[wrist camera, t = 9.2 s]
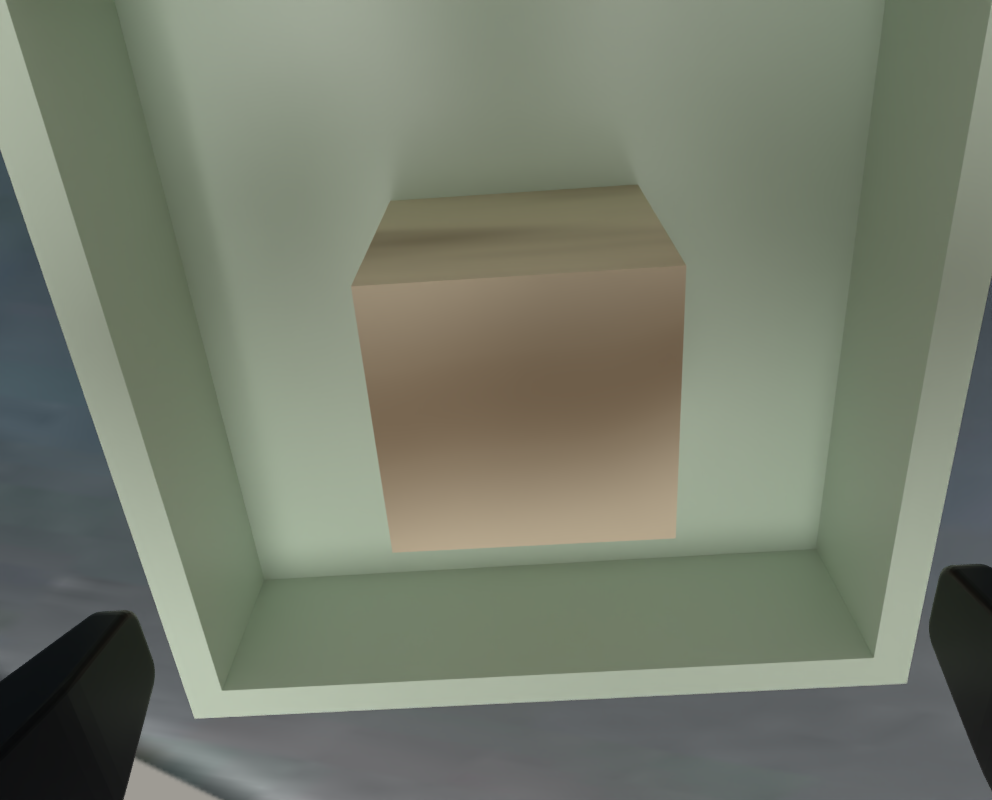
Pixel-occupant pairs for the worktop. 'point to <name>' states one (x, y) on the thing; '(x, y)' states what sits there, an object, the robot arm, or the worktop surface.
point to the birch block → (524, 368)
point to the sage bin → (494, 170)
